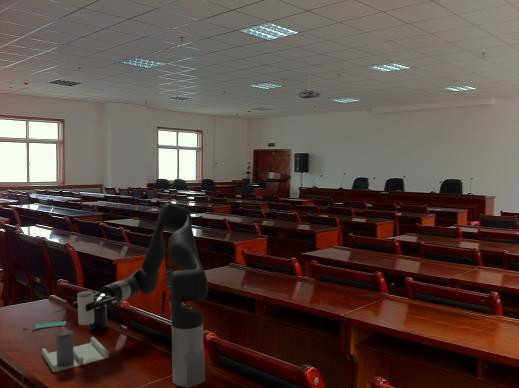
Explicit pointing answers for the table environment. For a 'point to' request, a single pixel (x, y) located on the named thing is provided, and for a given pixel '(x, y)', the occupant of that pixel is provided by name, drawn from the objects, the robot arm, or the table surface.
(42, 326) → the surgical mask
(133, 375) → the table surface
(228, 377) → the table surface
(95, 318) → the supplement bottle
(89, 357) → the divided tray
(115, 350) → the table surface
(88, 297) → the white cylinder
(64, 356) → the grey cylinder
